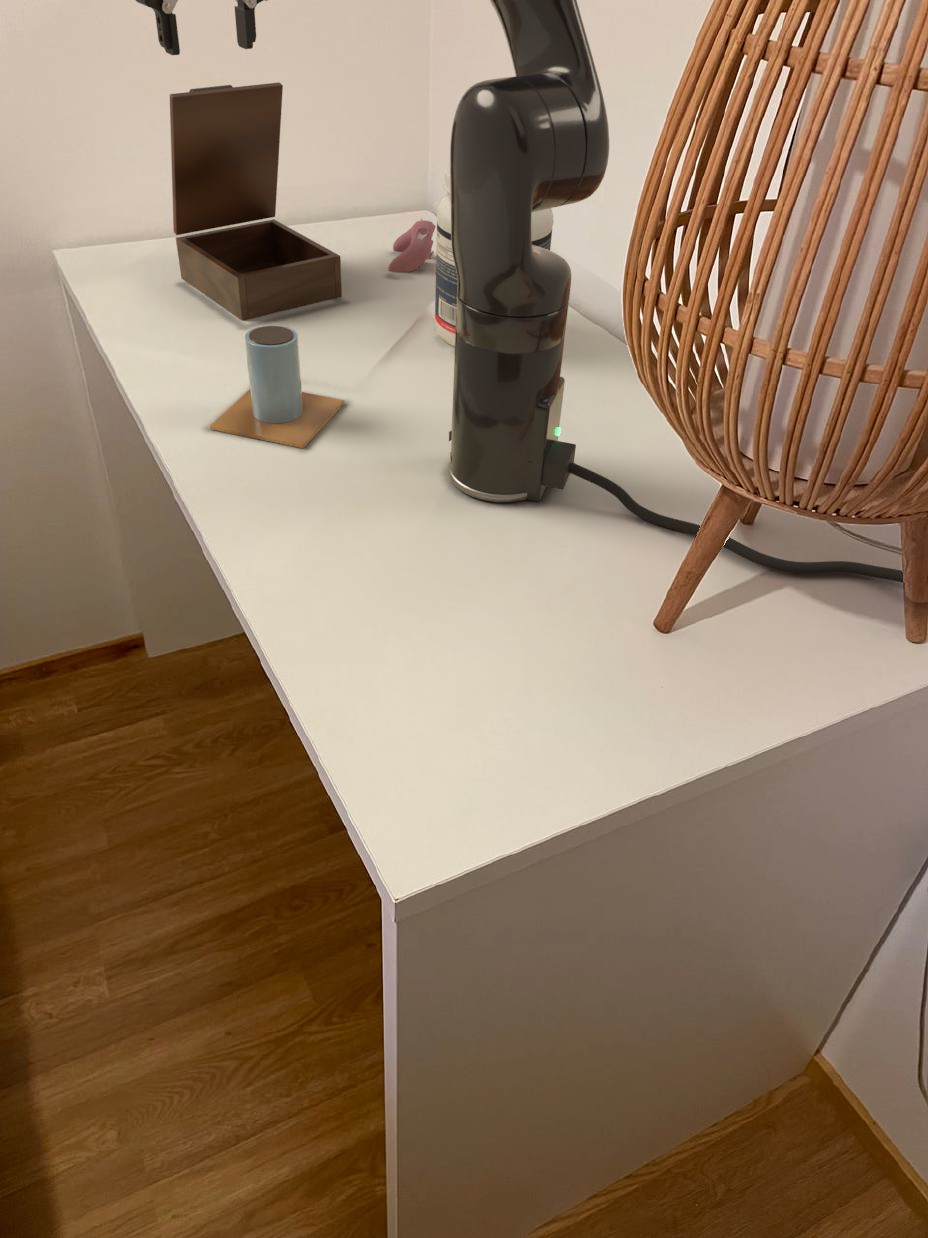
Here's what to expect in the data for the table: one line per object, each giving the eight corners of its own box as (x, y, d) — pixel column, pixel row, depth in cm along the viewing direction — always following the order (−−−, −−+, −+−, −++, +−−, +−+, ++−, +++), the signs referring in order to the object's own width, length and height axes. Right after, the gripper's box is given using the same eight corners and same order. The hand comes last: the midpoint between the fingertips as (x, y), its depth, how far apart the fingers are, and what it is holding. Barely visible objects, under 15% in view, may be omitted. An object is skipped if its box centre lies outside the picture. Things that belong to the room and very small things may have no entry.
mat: (344, 403, 101) (344, 399, 101) (303, 448, 93) (303, 444, 93) (256, 386, 103) (256, 382, 103) (209, 429, 95) (209, 425, 95)
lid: (283, 84, 113) (261, 65, 115) (172, 97, 106) (152, 75, 108) (275, 216, 126) (256, 196, 128) (176, 235, 119) (157, 213, 121)
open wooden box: (342, 303, 121) (340, 255, 117) (242, 327, 114) (237, 277, 110) (277, 264, 130) (274, 218, 127) (182, 284, 123) (175, 237, 120)
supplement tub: (545, 319, 120) (561, 160, 108) (538, 364, 110) (555, 194, 98) (441, 310, 121) (446, 150, 109) (425, 353, 111) (429, 183, 99)
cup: (311, 405, 99) (306, 329, 94) (289, 427, 96) (283, 349, 90) (266, 396, 100) (259, 320, 95) (243, 418, 97) (235, 340, 92)
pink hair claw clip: (416, 291, 129) (441, 244, 125) (385, 274, 128) (409, 226, 124) (419, 264, 137) (443, 219, 133) (390, 248, 135) (413, 202, 131)
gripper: (137, -140, 87) (163, 64, 98) (276, -137, 95) (286, 52, 105) (103, -148, 92) (131, 48, 102) (238, -145, 99) (251, 38, 109)
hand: (209, 50), depth 104 cm, fingers open, 8 cm apart
